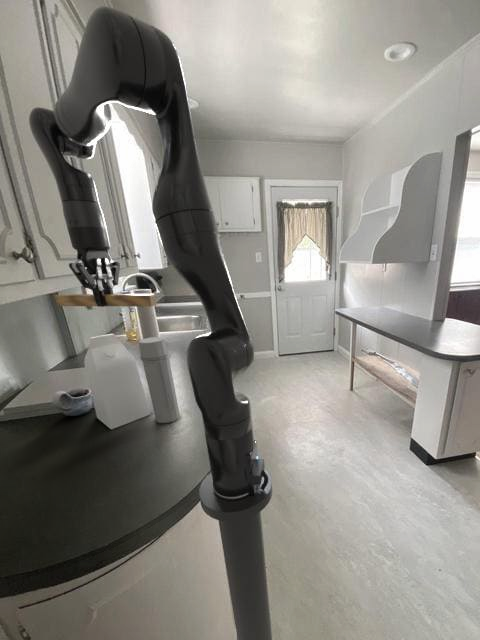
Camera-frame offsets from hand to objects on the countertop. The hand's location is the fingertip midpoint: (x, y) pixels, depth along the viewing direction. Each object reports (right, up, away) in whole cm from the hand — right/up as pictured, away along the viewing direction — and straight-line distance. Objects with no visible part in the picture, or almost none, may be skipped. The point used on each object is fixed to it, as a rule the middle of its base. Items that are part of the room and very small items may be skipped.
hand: (106, 305), depth 74 cm
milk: (-8, -30, +22) cm, 38 cm away
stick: (0, 0, 0) cm, 0 cm away
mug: (-24, -30, +24) cm, 45 cm away
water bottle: (+8, -31, +19) cm, 37 cm away
